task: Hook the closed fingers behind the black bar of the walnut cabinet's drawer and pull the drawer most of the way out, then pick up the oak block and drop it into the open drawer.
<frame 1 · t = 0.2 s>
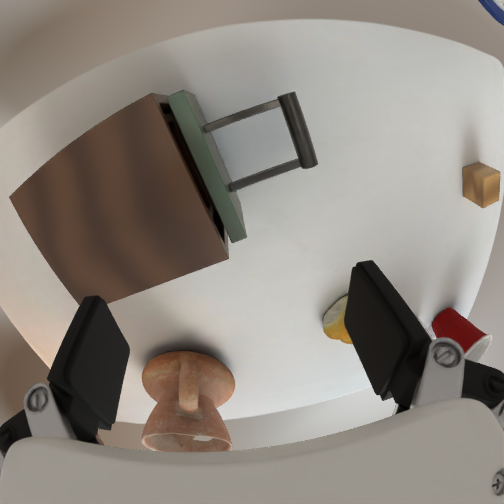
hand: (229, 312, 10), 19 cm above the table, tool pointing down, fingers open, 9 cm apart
bread roll: (348, 313, 38), on the table
ceramic jug: (189, 366, 40), on the table
plastic cup: (442, 317, 43), on the table
cabinet: (136, 186, 25), on the table
drawer: (181, 172, 21), point 5 cm above the table, slide at 0.5 cm
block: (471, 178, 28), on the table
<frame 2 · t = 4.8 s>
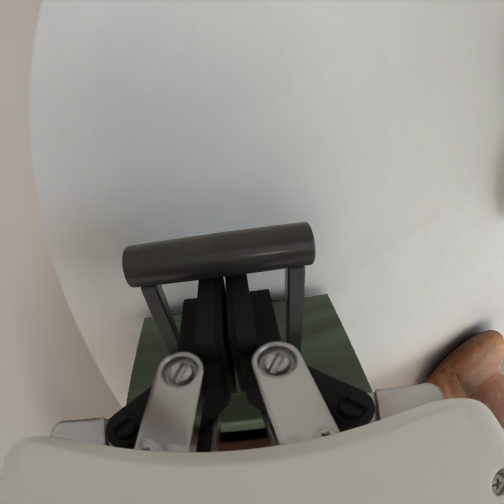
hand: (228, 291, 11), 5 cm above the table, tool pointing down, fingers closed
ceramic jug: (453, 356, 28), on the table
cabinet: (248, 379, 22), on the table
drawer: (245, 386, 14), point 5 cm above the table, slide at 1.1 cm, touching gripper
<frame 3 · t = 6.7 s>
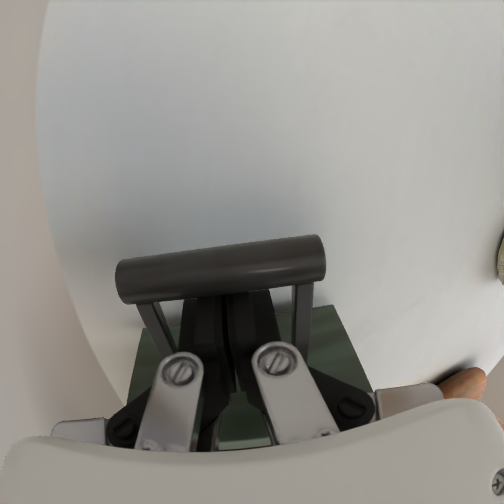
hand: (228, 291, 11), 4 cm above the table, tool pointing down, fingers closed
ceramic jug: (438, 387, 30), on the table
drawer: (248, 400, 14), point 5 cm above the table, slide at 7.8 cm, touching gripper
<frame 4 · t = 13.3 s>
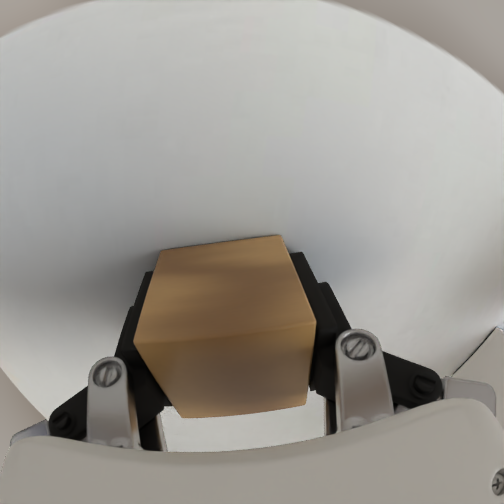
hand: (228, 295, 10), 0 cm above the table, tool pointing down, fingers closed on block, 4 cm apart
milk carton: (481, 352, 20), on the table
block: (227, 290, 11), on the table, touching gripper
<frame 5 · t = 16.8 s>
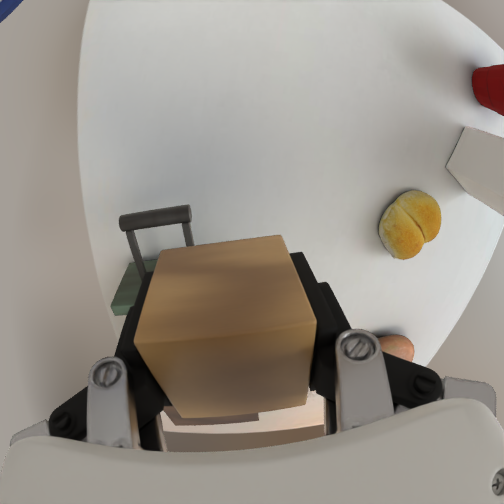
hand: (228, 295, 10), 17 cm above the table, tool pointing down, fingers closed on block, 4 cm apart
bread roll: (404, 220, 30), on the table
ceramic jug: (370, 352, 44), on the table
plastic cup: (481, 85, 21), on the table
cabinet: (205, 350, 38), on the table
milk carton: (466, 160, 26), on the table
drawer: (180, 301, 27), point 5 cm above the table, slide at 8.2 cm
block: (228, 289, 11), point 17 cm above the table, touching gripper
when the fingers open (8 cm above the table, at t = 20.8 s): block drops 6 cm, resting on drawer.
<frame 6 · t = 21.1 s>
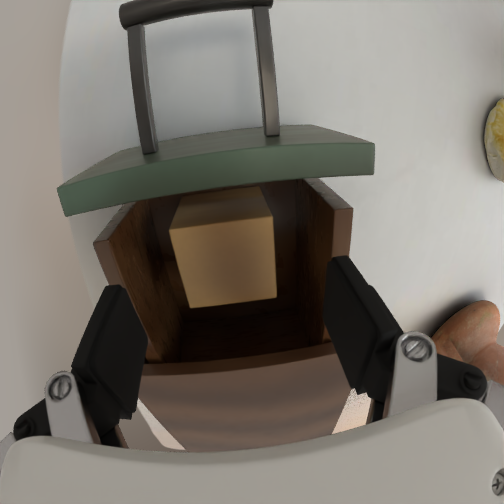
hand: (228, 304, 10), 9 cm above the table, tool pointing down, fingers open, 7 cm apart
bread roll: (501, 137, 16), on the table
ceramic jug: (449, 329, 29), on the table
cabinet: (243, 332, 24), on the table
drawer: (220, 205, 13), point 5 cm above the table, slide at 8.2 cm, touching block
block: (225, 225, 16), point 2 cm above the table, touching drawer
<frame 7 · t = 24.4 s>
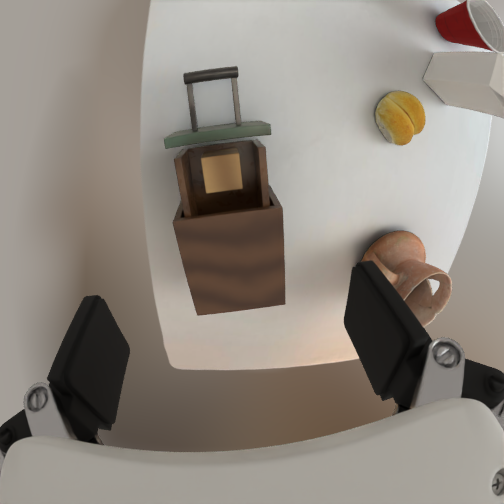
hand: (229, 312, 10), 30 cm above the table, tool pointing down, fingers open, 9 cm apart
bread roll: (395, 117, 34), on the table
ceramic jug: (384, 256, 48), on the table
plastic cup: (444, 27, 25), on the table
cabinet: (231, 234, 42), on the table
milk carton: (439, 78, 30), on the table
drawer: (220, 152, 31), point 5 cm above the table, slide at 8.2 cm, touching block
block: (222, 165, 34), point 2 cm above the table, touching drawer
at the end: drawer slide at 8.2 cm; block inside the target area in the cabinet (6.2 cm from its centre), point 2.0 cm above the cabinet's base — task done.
